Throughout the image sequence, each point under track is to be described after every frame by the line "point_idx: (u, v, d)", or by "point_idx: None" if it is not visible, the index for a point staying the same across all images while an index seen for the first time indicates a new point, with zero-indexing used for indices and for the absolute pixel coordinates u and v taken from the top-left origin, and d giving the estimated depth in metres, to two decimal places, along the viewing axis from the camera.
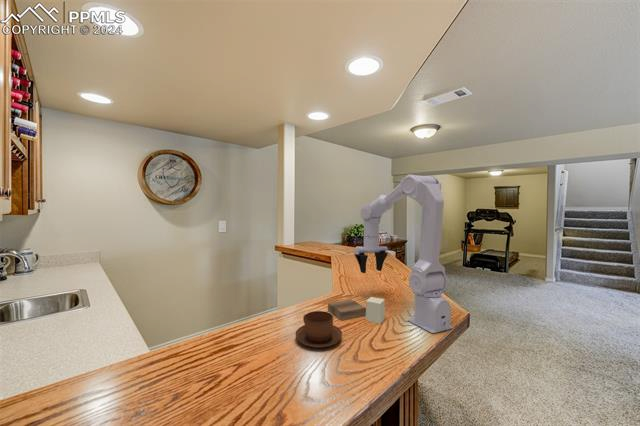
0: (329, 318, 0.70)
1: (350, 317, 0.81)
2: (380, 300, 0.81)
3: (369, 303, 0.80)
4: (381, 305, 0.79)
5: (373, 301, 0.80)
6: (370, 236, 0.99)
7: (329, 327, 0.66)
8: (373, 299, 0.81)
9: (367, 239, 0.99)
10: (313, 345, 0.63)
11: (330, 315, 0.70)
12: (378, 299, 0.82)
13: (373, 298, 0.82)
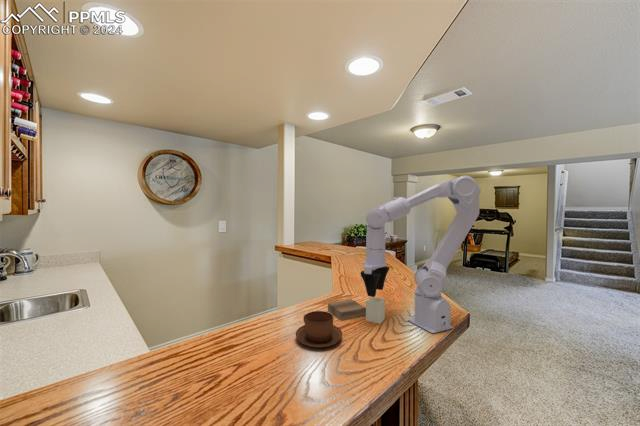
0: (329, 318, 0.70)
1: (350, 317, 0.81)
2: (380, 300, 0.81)
3: (369, 303, 0.80)
4: (381, 305, 0.79)
5: (373, 301, 0.80)
6: (380, 249, 0.78)
7: (329, 327, 0.66)
8: (373, 299, 0.81)
9: (376, 253, 0.78)
10: (313, 345, 0.63)
11: (330, 315, 0.70)
12: (378, 299, 0.82)
13: (373, 298, 0.82)
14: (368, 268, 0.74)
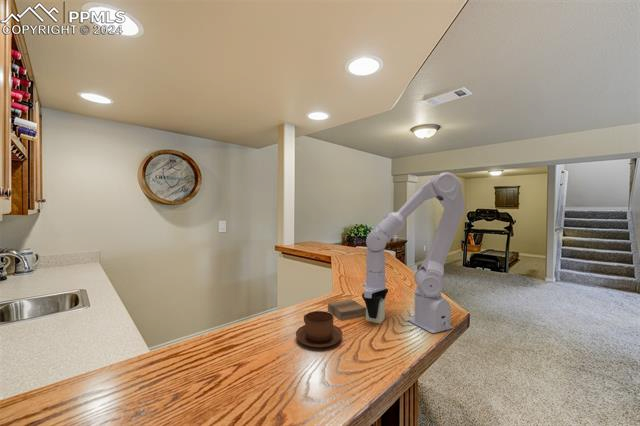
0: (329, 318, 0.70)
1: (350, 317, 0.81)
2: (380, 300, 0.81)
3: None
4: (381, 304, 0.79)
5: None
6: (380, 272, 0.78)
7: (329, 327, 0.66)
8: None
9: (376, 276, 0.78)
10: (313, 345, 0.63)
11: (330, 315, 0.70)
12: None
13: None
14: (368, 292, 0.74)
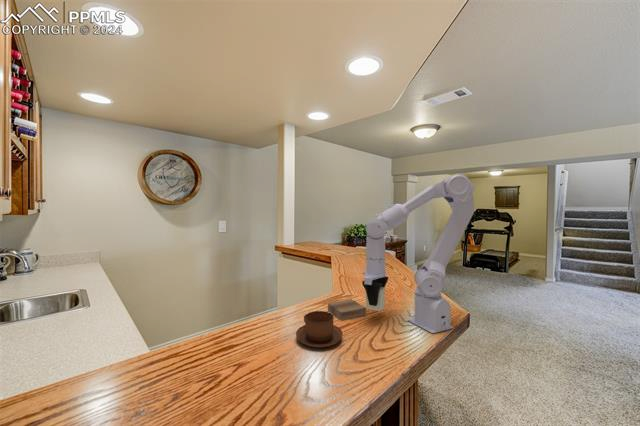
0: (330, 318, 0.71)
1: (350, 317, 0.81)
2: (380, 288, 0.81)
3: None
4: (381, 292, 0.79)
5: None
6: (380, 259, 0.78)
7: (329, 327, 0.66)
8: None
9: (376, 263, 0.78)
10: (314, 345, 0.63)
11: (331, 315, 0.70)
12: None
13: None
14: (368, 279, 0.74)
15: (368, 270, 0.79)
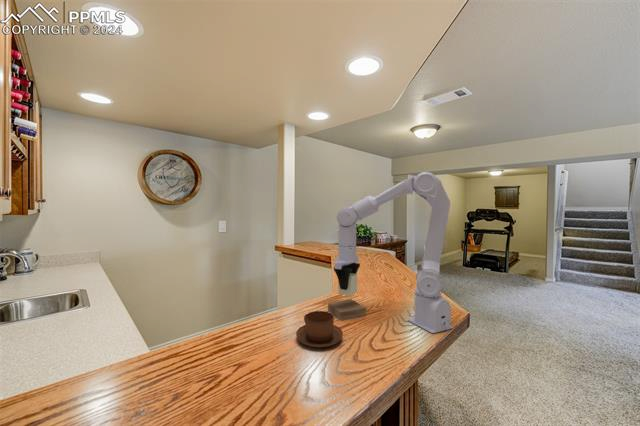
0: (330, 318, 0.71)
1: (350, 317, 0.81)
2: (352, 274, 0.85)
3: None
4: (353, 278, 0.83)
5: None
6: (350, 246, 0.83)
7: (329, 327, 0.66)
8: None
9: (347, 249, 0.83)
10: (314, 345, 0.63)
11: (331, 315, 0.70)
12: (350, 274, 0.86)
13: None
14: (338, 264, 0.79)
15: (340, 256, 0.84)
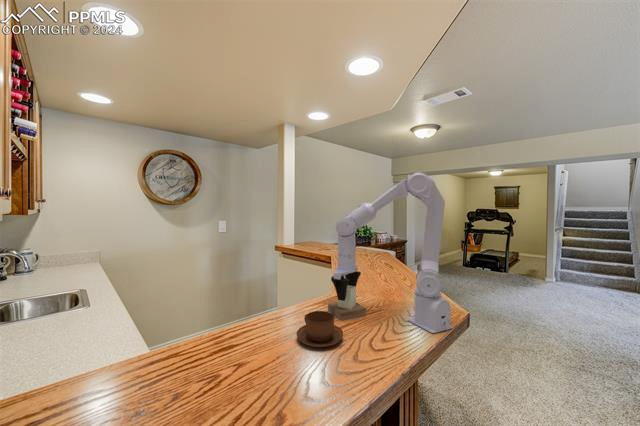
0: (330, 318, 0.71)
1: (350, 317, 0.81)
2: (351, 287, 0.85)
3: None
4: (352, 291, 0.84)
5: None
6: (349, 255, 0.83)
7: (330, 327, 0.66)
8: None
9: (346, 259, 0.83)
10: (314, 345, 0.63)
11: (331, 315, 0.70)
12: (349, 286, 0.86)
13: None
14: (337, 274, 0.79)
15: (339, 266, 0.84)
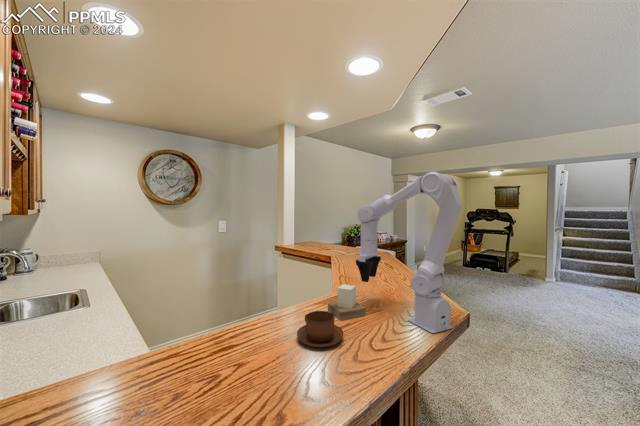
0: (330, 318, 0.71)
1: (350, 317, 0.81)
2: (351, 287, 0.86)
3: (340, 290, 0.84)
4: (352, 291, 0.84)
5: (344, 287, 0.85)
6: (372, 240, 0.90)
7: (330, 327, 0.66)
8: (345, 286, 0.86)
9: (369, 244, 0.90)
10: (315, 345, 0.63)
11: (331, 315, 0.70)
12: (349, 286, 0.87)
13: (345, 285, 0.87)
14: (362, 257, 0.86)
15: (362, 250, 0.91)
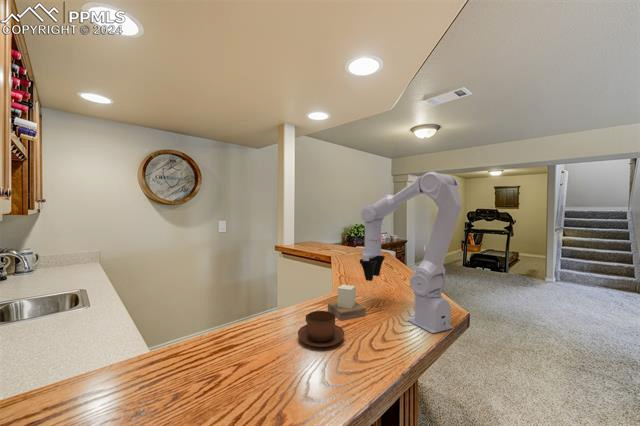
0: (331, 318, 0.71)
1: (350, 317, 0.81)
2: (351, 287, 0.86)
3: (340, 289, 0.84)
4: (352, 291, 0.84)
5: (344, 287, 0.85)
6: (376, 240, 0.91)
7: (331, 327, 0.66)
8: (345, 286, 0.86)
9: (373, 243, 0.91)
10: (316, 344, 0.63)
11: (332, 315, 0.70)
12: (349, 286, 0.86)
13: (345, 285, 0.87)
14: (366, 256, 0.87)
15: (366, 249, 0.92)
